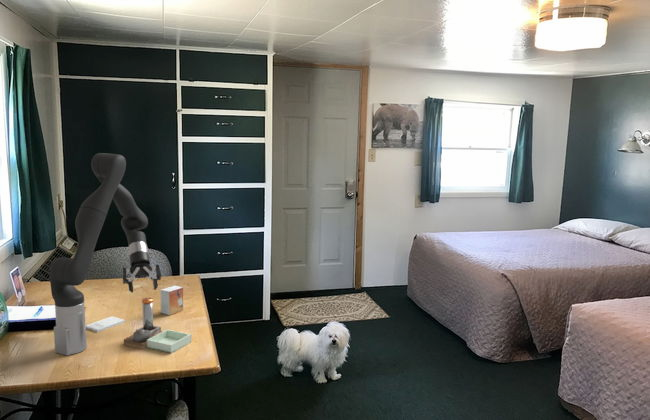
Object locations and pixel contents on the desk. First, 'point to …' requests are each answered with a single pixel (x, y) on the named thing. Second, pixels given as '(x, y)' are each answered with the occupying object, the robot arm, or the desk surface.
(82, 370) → the desk surface
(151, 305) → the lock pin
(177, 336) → the tray
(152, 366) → the desk surface
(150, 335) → the tensioner bracket
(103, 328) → the external hard drive
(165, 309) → the small box
